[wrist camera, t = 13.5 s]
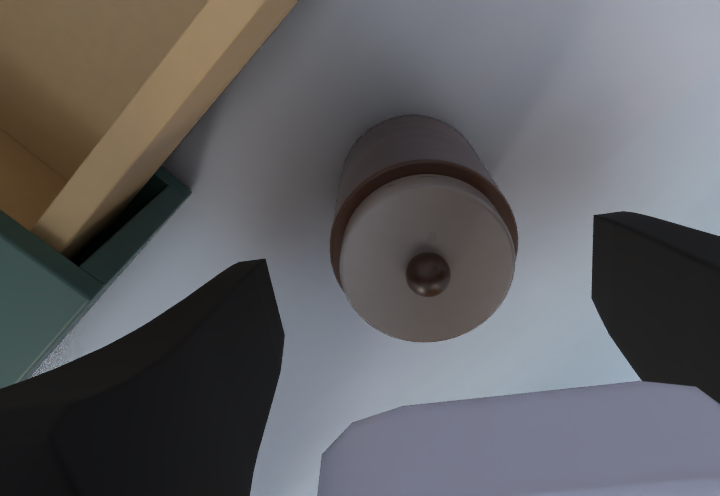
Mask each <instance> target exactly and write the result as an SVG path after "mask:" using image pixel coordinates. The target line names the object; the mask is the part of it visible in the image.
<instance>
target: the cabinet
mask: <svg viewBox="0 0 720 496" xmlns="http://www.w3.org/2000/svg"><path fill="white" fill-rule="evenodd" d="M191 193H192V192H191V191H190V190H189V189H188V188H187V187H185V186H184V185H183V184H182V183H181V182H179V181H178V180H177V179H176V178H175V177H173V176H172V175H171V174H170V173H169V172H167V171H166V170H165V169H164V168H163V167H161V166H160V167H159V168H158V170H157V171H156V172H155V173H154V174H153V176H152V177H151V178H150V179H149V180H148V182H147V183H146V184H145V185H144V186H143V188H142V189H141V190H140V191H139V192H138V194H137V195H136V196H135V197H134V198H133V200H132V201H131V202H130V203H129V204H128V205H127V207H126V208H125V209H124V210H123V211H122V213H121V214H120V215H119V216H118V217H117V219H116V220H115V221H114V222H113V223H112V224H111V225H110V226H109V227H108V228H107V229H105V230H104V231H103V232H102V233H101V234H100V235H99V236H98V237H96V238H95V239H94V240H93V241H92V242H91V243H89V244H88V245H87V246H86V247H85V248H84V249H83V250H81V251H80V252H79V253H78V254H77V255H76V256H74V257H73V258H72V259H71V260H69V259H67V258H66V257H65V256H63V255H62V254H60V253H59V252H58V251H56V250H55V249H54V248H52V247H51V246H49V245H48V244H47V243H45V242H44V241H43V240H41V239H40V238H39V237H37V236H36V235H34V234H33V233H32V232H30V231H29V230H28V229H26V228H25V227H23V226H22V225H21V224H19V223H18V222H17V221H15V220H14V219H13V218H11V217H10V216H8V215H7V214H6V213H4V212H3V211H2V210H0V389H1V388H4V387H7V386H10V385H13V384H15V383H18V382H21V381H24V380H27V379H28V378H29V377H30V376H31V375H32V373H33V372H34V371H35V370H36V369H37V368H38V367H39V366H40V364H41V363H42V362H43V361H44V360H45V359H46V358H47V356H48V355H49V354H50V353H51V352H52V351H53V350H54V349H55V347H56V346H57V345H58V344H59V343H60V342H61V341H62V339H63V338H64V337H65V336H66V335H67V334H68V333H69V332H70V330H71V329H72V328H73V327H74V326H75V325H76V324H77V322H78V321H79V320H80V319H81V318H82V317H83V316H84V315H85V313H86V312H87V311H88V310H89V309H90V308H91V307H92V305H93V304H94V303H95V302H96V301H97V300H98V299H99V298H100V296H101V295H102V294H103V293H104V292H105V291H106V290H107V288H108V287H109V286H110V285H111V284H112V283H113V282H114V281H115V279H116V278H117V277H118V276H119V275H120V274H121V273H122V271H123V270H124V269H125V268H126V267H127V266H128V265H129V264H130V262H131V261H132V260H133V259H134V258H135V257H136V256H137V254H138V253H139V252H140V251H141V250H142V249H143V248H144V247H145V245H146V244H147V243H148V242H149V241H150V240H151V239H152V237H153V236H154V235H155V234H156V233H157V232H158V231H159V230H160V228H161V227H162V226H163V225H164V224H165V223H166V222H167V220H168V219H169V218H170V217H171V216H172V215H173V214H174V213H175V211H176V210H177V209H178V208H179V207H180V206H181V205H182V203H183V202H184V201H185V200H186V199H187V198H188V197H189V196H190V194H191Z"/></svg>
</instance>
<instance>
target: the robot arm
mask: <svg viewBox="0 0 720 496" xmlns="http://www.w3.org/2000/svg"><path fill="white" fill-rule="evenodd" d="M592 300H593V302H594V304H595V307H596V309H597V311H598V313H599V315H600V317H601V319H602V321H603V323H604V325H605V327H606V329H607V331H608V333H609V335H610V336H611V338H612V339H613V341H614V342H615V343H616V345H617V346H618V348H619V349H620V351H621V352H622V353H623V355H624V356H625V358H626V359H627V361H628V362H629V363H630V365H631V366H632V368H633V369H634V370H635V372H636V373H637V375H638V376H639V377H640V379H641V380H642V381H636V382H626V383H617V384H607V385H598V386H589V387H579V388H570V389H560V390H551V391H542V392H532V393H523V394H513V395H504V396H494V397H485V398H476V399H466V400H457V401H447V402H438V403H429V404H419V405H410V406H402V407H399V408H395V409H392V410H389V411H386V412H383V413H380V414H377V415H374V416H371V417H368V418H365V419H362V420H359V421H356V422H353V423H351V424H350V426H349V427H348V428H347V429H346V430H345V431H344V432H343V433H342V434H341V435H340V436H339V437H338V438H337V439H336V440H335V441H334V442H333V443H332V444H331V446H330V447H329V448H328V449H327V450H326V451H325V452H324V453H323V454H322V459H321V468H320V477H319V486H318V494H317V496H720V236H717V235H713V234H710V233H706V232H703V231H699V230H696V229H692V228H689V227H685V226H682V225H678V224H675V223H672V222H668V221H665V220H661V219H658V218H654V217H650V216H646V215H642V214H638V213H633V212H625V211H622V212H614V213H607V214H599V215H594V222H593V261H592ZM284 336H285V334H284V330H283V327H282V323H281V319H280V315H279V311H278V307H277V303H276V299H275V295H274V291H273V287H272V283H271V279H270V275H269V271H268V267H267V263H266V259H259V260H251V261H244V262H238V263H236V264H234V265H232V266H231V267H229V268H227V269H226V270H224V271H223V272H221V273H220V274H218V275H217V276H216V277H214V278H213V279H211V280H210V281H209V282H207V283H206V284H204V285H203V286H202V287H200V288H199V289H197V290H196V291H195V292H193V293H192V294H190V295H189V296H188V297H186V298H185V299H183V300H182V301H180V302H179V303H177V304H176V305H174V306H173V307H171V308H170V309H168V310H167V311H165V312H164V313H162V314H161V315H159V316H158V317H156V318H155V319H153V320H152V321H150V322H148V323H147V324H145V325H143V326H142V327H140V328H138V329H137V330H135V331H133V332H131V333H129V334H128V335H126V336H124V337H122V338H120V339H118V340H116V341H114V342H113V343H111V344H109V345H107V346H105V347H103V348H101V349H98V350H96V351H94V352H92V353H90V354H87V355H85V356H83V357H81V358H78V359H76V360H74V361H72V362H69V363H67V364H65V365H63V366H60V367H58V368H56V369H53V370H51V371H48V372H45V373H43V374H40V375H38V376H35V377H32V378H30V379H27V380H24V381H21V382H18V383H15V384H13V385H10V386H7V387H4V388H1V389H0V496H250V490H251V484H252V478H253V472H254V468H255V463H256V459H257V455H258V451H259V447H260V444H261V440H262V436H263V433H264V429H265V426H266V422H267V419H268V415H269V412H270V408H271V404H272V401H273V397H274V394H275V390H276V386H277V382H278V379H279V375H280V371H281V363H282V356H283V346H284Z"/></svg>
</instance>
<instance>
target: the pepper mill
mask: <svg viewBox="0 0 720 496" xmlns="http://www.w3.org/2000/svg"><path fill="white" fill-rule="evenodd" d="M517 251H518V232H517V225H516V222H515V218H514V215H513V212H512V210H511V208H510V205H509V204H508V202H507V201H506V199H505V197H504V196H503V194H502V193H501V191H500V190H499V188H498V187H497V185H496V184H495V182H494V180H493V179H492V177H491V176H490V174H489V173H488V171H487V170H486V168H485V167H484V165H483V164H482V162H481V161H480V159H479V158H478V156H477V155H476V153H475V152H474V150H473V148H472V147H471V145H470V144H469V142H468V141H467V140H466V139H465V138H464V137H463V135H461V134H460V133H459V132H458V131H457V130H456V129H454V128H453V127H451V126H450V125H448V124H446V123H444V122H442V121H440V120H437V119H434V118H431V117H425V116H416V115H409V116H400V117H396V118H392V119H389V120H386V121H383V122H381V123H379V124H378V125H376V126H374V127H373V128H371V129H370V130H368V131H367V132H366V133H365V134H364V135H362V136H361V137H360V138H359V139H358V141H357V142H356V143H355V144H354V146H353V147H352V149H351V150H350V152H349V154H348V156H347V158H346V160H345V163H344V166H343V169H342V175H341V180H340V186H339V192H338V197H337V203H336V208H335V214H334V219H333V225H332V230H331V236H330V258H331V264H332V268H333V272H334V274H335V277H336V279H337V281H338V283H339V285H340V287H341V288H342V290H343V292H344V293H345V294H346V297H347V299H348V301H349V302H350V304H351V305H352V307H353V308H354V310H355V311H356V312H357V313H358V314H359V316H360V317H362V318H363V319H364V320H365V321H366V322H367V323H368V324H370V325H371V326H372V327H374V328H375V329H377V330H379V331H380V332H382V333H384V334H387V335H389V336H391V337H394V338H398V339H401V340H406V341H412V342H437V341H443V340H447V339H451V338H454V337H457V336H460V335H462V334H465V333H467V332H469V331H471V330H472V329H474V328H476V327H477V326H479V325H480V324H482V323H483V322H484V321H486V320H487V319H488V318H489V317H490V316H491V315H492V314H493V313H494V312H495V311H496V310H497V308H498V307H499V306H500V304H501V303H502V301H503V300H504V299H505V297H506V295H507V293H508V291H509V288H510V286H511V283H512V280H513V276H514V270H515V261H516V256H517Z"/></svg>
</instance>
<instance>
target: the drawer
mask: <svg viewBox="0 0 720 496" xmlns="http://www.w3.org/2000/svg"><path fill="white" fill-rule="evenodd" d="M298 1H299V0H0V210H2V211H3V212H4V213H6V214H7V215H8V216H10V217H11V218H13V219H14V220H15V221H17V222H18V223H19V224H21V225H22V226H23V227H25V228H26V229H28V230H29V231H30V232H32V233H33V234H34V235H36V236H37V237H39V238H40V239H41V240H43V241H44V242H45V243H47V244H48V245H49V246H51V247H52V248H54V249H55V250H56V251H58V252H59V253H60V254H62V255H63V256H65V257H66V258H67V259H69V260H71V259H72V258H73V257H74V256H76V255H77V254H78V253H79V252H80V251H81V250H83V249H84V248H85V247H86V246H87V245H88V244H89V243H91V242H92V241H93V240H94V239H95V238H96V237H98V236H99V235H100V234H101V233H102V232H103V231H104V230H105V229H107V228H108V227H109V226H110V225H111V224H112V223H113V222H114V221H115V220H116V219H117V217H118V216H119V215H120V214H121V213H122V211H123V210H124V209H125V208H126V207H127V205H128V204H129V203H130V202H131V201H132V200H133V198H134V197H135V196H136V195H137V194H138V192H139V191H140V190H141V189H142V188H143V186H144V185H145V184H146V183H147V182H148V180H149V179H150V178H151V177H152V176H153V174H154V173H155V172H156V171H157V170H158V168H159V167H160V166H161V165H162V164H163V162H164V161H165V160H166V159H167V158H168V156H169V155H170V154H171V153H172V152H173V150H174V149H175V148H176V147H177V146H178V145H179V143H180V142H181V141H182V140H183V139H184V137H185V136H186V135H187V134H188V133H189V131H190V130H191V129H192V128H193V127H194V125H195V124H196V123H197V122H198V121H199V119H200V118H201V117H202V116H203V115H204V113H205V112H206V111H207V110H208V109H209V107H210V106H211V105H212V104H213V103H214V101H215V100H216V99H217V98H218V97H219V95H220V94H221V93H222V92H223V91H224V90H225V88H226V87H227V86H228V85H229V84H230V82H231V81H232V80H233V79H234V78H235V76H236V75H237V74H238V73H239V72H240V70H241V69H242V68H243V67H244V66H245V64H246V63H247V62H248V61H249V60H250V58H251V57H252V56H253V55H254V54H255V52H256V51H257V50H258V49H259V48H260V46H261V45H262V44H263V43H264V42H265V41H266V39H267V38H268V37H269V36H270V35H271V33H272V32H273V31H274V30H275V29H276V27H277V26H278V25H279V24H280V23H281V21H282V20H283V19H284V18H285V17H286V15H287V14H288V13H289V12H290V11H291V9H292V8H293V7H294V6H295V5H296V3H297V2H298Z"/></svg>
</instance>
